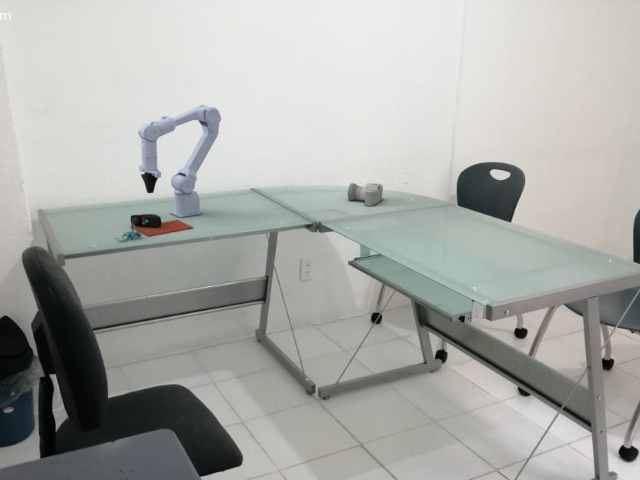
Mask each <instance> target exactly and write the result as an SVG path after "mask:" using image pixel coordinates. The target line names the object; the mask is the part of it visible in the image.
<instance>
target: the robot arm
mask: <svg viewBox="0 0 640 480" xmlns="http://www.w3.org/2000/svg"><path fill="white" fill-rule="evenodd" d="M192 121H198V123H199V124H200V126H201V129H202V132H203V133H202V134H201V136H200V138H199V139H198V141H197V143H196V145H195V146H194V148H193V150H192V152H191V154H190V156H189V157H188V159H187V161H186V163H185V165H184V166H183V167H182V168H180V169H178V172H177V173H176V174H174V175H173V176H172V177H171V179H170V184H171V186H172V188H173V189H174V191H173V192H174V193H173V195H174V211H171V214H173V215H174V216H176V217H179V218H185V217H191V216H197V215H201V214H202V213H201V207H200V206H201V205H200V196H199V193H198V192H197V191H195V187H196V183H197V181H198V177H197V174H198V172H199V170H200V168H201V166H202V164H203V163H204V161H205V159H206V158H207V155H208V154H209V153H210V150H211V149H212V146H213V145H214V143H215V142H216V140H217V138H218V136H219V131H220V122H221V121H222V117H221V113H220V110H218V108H216V107H214V106H208V105H204V104H201V105H199V106H194V107H193V108H191V109H188V110H186V111H184V112H182V113H180V114H178V115H176V116H174V117H173V116H172V117H170V116H166V115H162V116H161V118H160V119H157V120H151V121H150V123H143V124H142V125H141V126H140V128H139V131H138V135H139V138H140V141H141V142H140V143H141V145H140V147H141V148H140V149H141V165H139V166H138V172H142V173H141V174H140V177H141V179H142V181H143V183H144V186H145V190H146V193H147V194H153V193H154V192H155V189H156V184H157V182H158V179H159V178H162V172H161V171H160V170H159V169H158V139H159V138H160V137H162V136H165V135H167V134H170V133H172V132H174V131H175V129H176V128H177V127H178V126H180V125H181V126H182V125H185V124H186V123H189V122H192Z"/></svg>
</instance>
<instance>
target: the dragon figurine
mask: <svg viewBox="0 0 640 480" xmlns="http://www.w3.org/2000/svg"><path fill="white" fill-rule="evenodd" d="M136 227H137V226H135V225H134V224H133V222H132V223H131V222H130V230H129V231H125V232H123V233H122V235H121V239H122V240H121V239H119V238H117V237H113V240H114V239H116V240H118V241H119V242H121V243H124V242H125V241H126V240H128V239H130V240H131V241H132V240H134V238H136V237H138V238H141V237H142V234H143V233H142V232H140V231H138V229H135V228H136ZM135 230H136V231H135ZM124 237H126V240H125V238H124Z"/></svg>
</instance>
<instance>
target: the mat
mask: <svg viewBox="0 0 640 480" xmlns="http://www.w3.org/2000/svg"><path fill="white" fill-rule="evenodd" d="M135 227H136V228H135V229H134V230H136V229H138V231H139V232H141V234H144V235H145V236H147V237H152V236H153V237H154V236H159V235H164V234H168V233H174V232H180V231H186V230H190V229H193V228H194V227H193V226H191V225H188V224H187V223H185V222H182V221H181V220H178V219H175V220H169V221H162V222H161V226H160V227H153V226H142V227H140V226H135Z"/></svg>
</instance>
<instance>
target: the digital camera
mask: <svg viewBox="0 0 640 480" xmlns="http://www.w3.org/2000/svg"><path fill="white" fill-rule="evenodd" d="M383 189H384V185H383V184H382V183H373V182H372V183H371V182H367V183H366V184H364V186H361V185H357V184H356V183H354V182H351V183H350V184H349V186H348V189H347V200H349V201H355V200H362V201H364V206H366V207H372V206H375V205H376V204H378V203H379V202H381V201H382V199H383V191H384V190H383Z"/></svg>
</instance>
